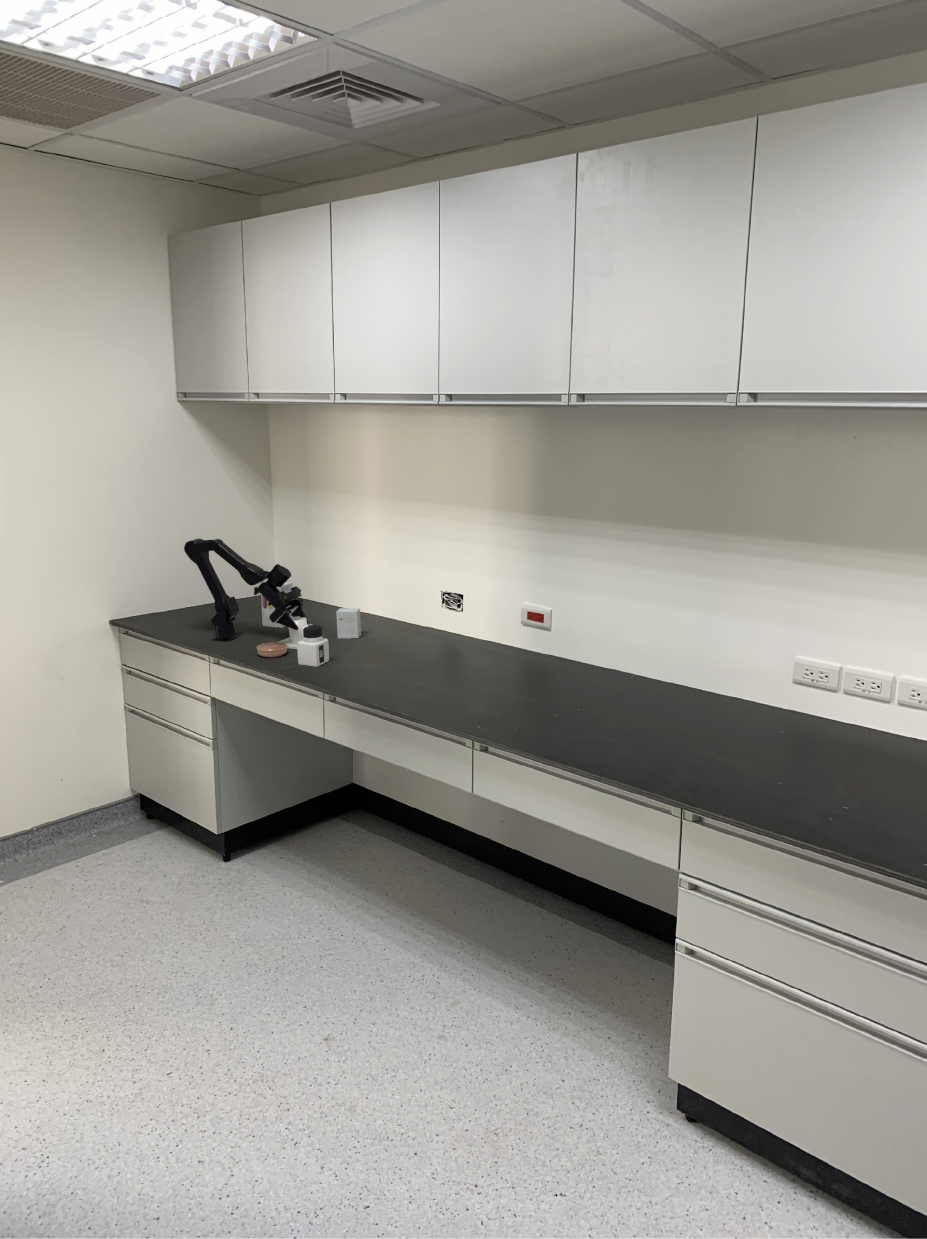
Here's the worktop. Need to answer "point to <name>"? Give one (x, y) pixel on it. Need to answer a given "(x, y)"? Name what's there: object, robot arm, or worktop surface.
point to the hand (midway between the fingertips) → (302, 626)
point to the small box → (348, 623)
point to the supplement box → (268, 609)
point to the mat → (289, 644)
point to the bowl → (272, 649)
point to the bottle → (297, 634)
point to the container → (312, 647)
